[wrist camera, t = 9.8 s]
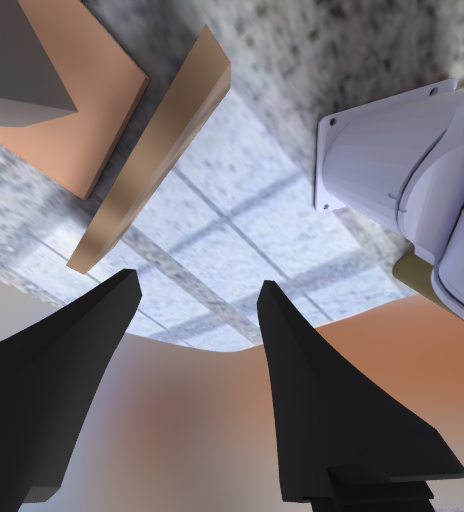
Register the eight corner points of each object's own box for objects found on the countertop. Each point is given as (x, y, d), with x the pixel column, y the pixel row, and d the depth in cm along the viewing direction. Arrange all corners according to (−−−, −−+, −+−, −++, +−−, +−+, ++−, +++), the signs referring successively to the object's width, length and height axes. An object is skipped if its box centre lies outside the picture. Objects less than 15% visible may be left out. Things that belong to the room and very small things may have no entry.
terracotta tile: (-109, -217, 7) (-144, -255, 6) (150, 79, 12) (145, 76, 11) (-92, 73, 12) (-111, 69, 11) (88, 197, 17) (83, 199, 16)
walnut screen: (214, 65, 12) (205, 24, 7) (230, 88, 12) (230, 62, 8) (100, 239, 19) (65, 265, 15) (113, 247, 20) (84, 274, 16)
